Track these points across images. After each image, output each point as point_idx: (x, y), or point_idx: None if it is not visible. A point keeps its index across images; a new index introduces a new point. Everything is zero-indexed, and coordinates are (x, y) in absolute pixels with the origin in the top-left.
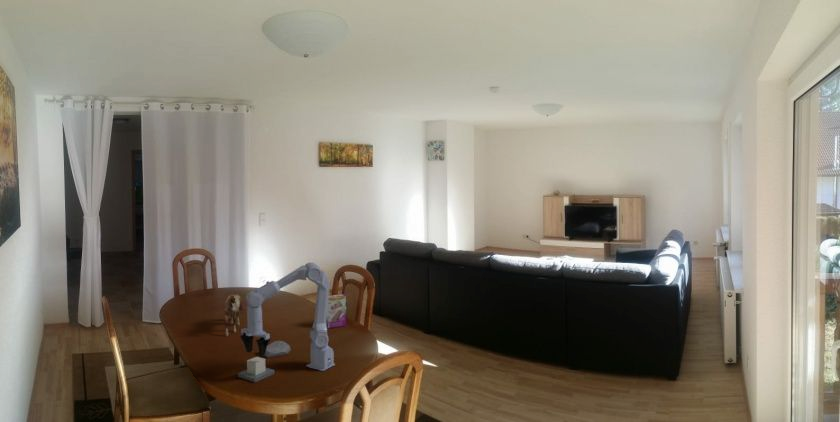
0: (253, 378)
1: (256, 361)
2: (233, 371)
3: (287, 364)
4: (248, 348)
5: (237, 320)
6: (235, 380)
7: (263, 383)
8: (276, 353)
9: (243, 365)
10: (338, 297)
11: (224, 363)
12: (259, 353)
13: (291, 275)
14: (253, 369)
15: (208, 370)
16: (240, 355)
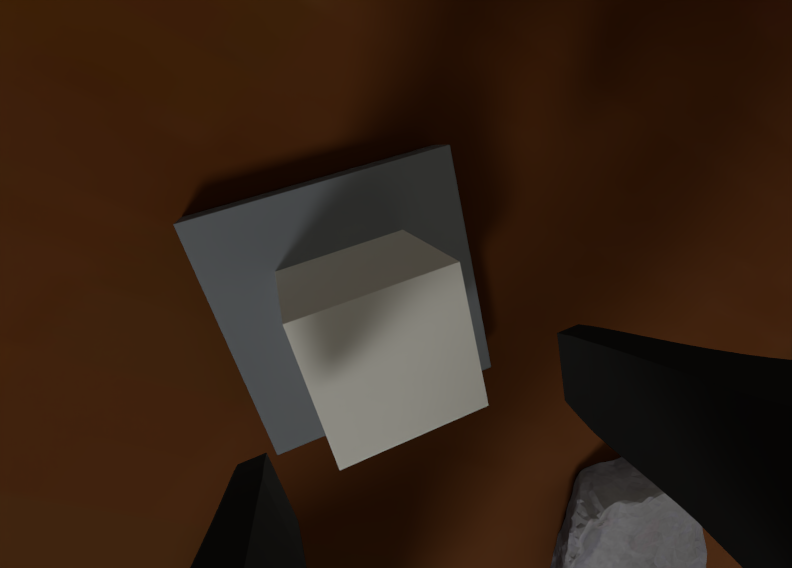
0: (201, 216)
1: (333, 355)
2: (566, 169)
3: (384, 552)
4: (612, 377)
5: None
6: (374, 82)
7: (94, 277)
8: (569, 537)
9: (603, 285)
10: None
11: (734, 185)
12: (257, 485)
13: None
14: (315, 275)
15: (734, 9)
16: (745, 331)
